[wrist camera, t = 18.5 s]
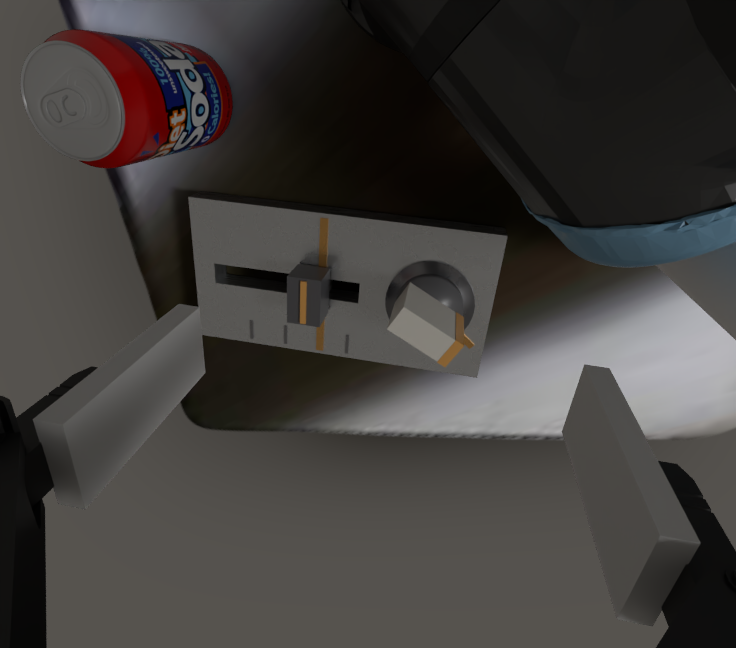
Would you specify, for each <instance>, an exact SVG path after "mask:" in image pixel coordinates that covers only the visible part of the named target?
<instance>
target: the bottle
mask: <svg viewBox="0 0 736 648" xmlns="http://www.w3.org/2000/svg"><path fill="white" fill-rule="evenodd" d="M656 266H657V267H658V268H659V269H660V270H661V271H662V272H664V273H665V274H666V275H667V276H668V277H669V278H670V279H671V280H672V281H673V282H674V283H675V284H676V285H677V286H679V287H680V288H681V289H682V290H683V291H684V292H685V293H686V294H687V295H688V296H689V297H690V298H691V299H692V300H694V301H695V302H696V303H697V304H698V305H699V306H700V307H701V308H702V309H703V310H704V311H705V312H706V313H707V314H709V315H710V316H711V317H712V318H713V319H714V320H715V321H716V322H717V323H718V324H719V325H720V326H721V327H722V328H724V329H725V330H726V331H727V332H728V333H729V334H730V335H731V336H732V337H733V338H734V339H735V340H736V242H734V243H732V244H729V245H727V246H724V247H722V248H719V249H716V250H714V251H711V252H708V253H705V254H702V255H699V256H695V257H692V258H688V259H684V260H680V261H676V262H671V263H666V264H659V265H656Z"/></svg>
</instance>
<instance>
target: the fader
mask: <svg viewBox="0 0 736 648" xmlns="http://www.w3.org/2000/svg"><path fill="white" fill-rule="evenodd" d="M332 283H333V280H331V279H330V268H325V267H317V266H310V265H303V264H297V266H296V267H295V268H294V269H293V270H292V271H291V272H290V273H289V275H288V276H287V323H294V324H301V325H307V326H314V327H320V326H321V324H322V322H323V321H324V319H325V317H326V315H327V314H328V308H329V291H330V290H331V288H332Z"/></svg>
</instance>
